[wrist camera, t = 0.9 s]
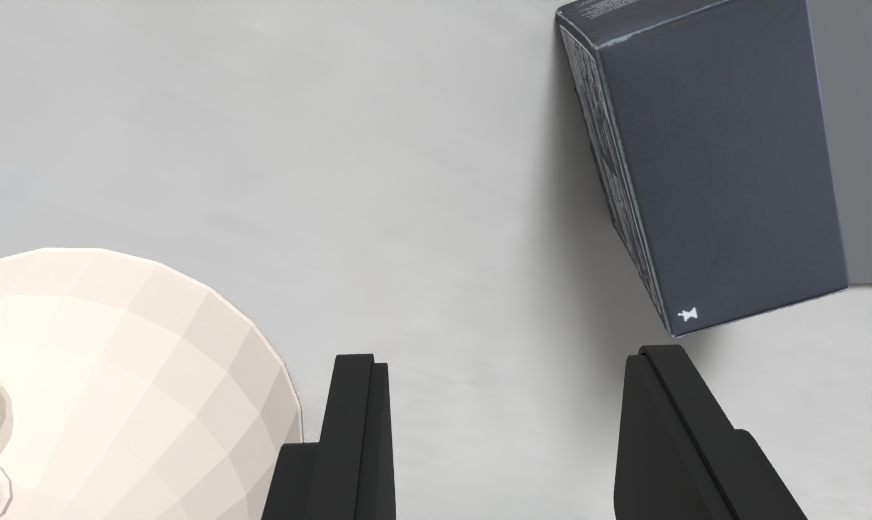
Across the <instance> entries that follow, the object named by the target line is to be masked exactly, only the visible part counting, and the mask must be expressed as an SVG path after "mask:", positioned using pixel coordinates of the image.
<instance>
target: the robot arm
mask: <svg viewBox="0 0 872 520" xmlns="http://www.w3.org/2000/svg"><path fill="white" fill-rule="evenodd" d="M614 510H615V516H616V520H808V519H807V518H806V516H805V515H804V513H803V512H802V510H801V508H800V507H799V505H798V504H797V502H796V501H795V499H794V498H793V496H792V495H791V493H790V492H789V490H788V489H787V487H786V486H785V484H784V483H783V481H782V480H781V478H780V477H779V475H778V474H777V472H776V471H775V469H774V468H773V466H772V465H771V463H770V462H769V460H768V459H767V457H766V456H765V454H764V452H763V451H762V449H761V448H760V446H759V445H758V443H757V442H756V440H755V439H754V438H753V436H752V435H751V434H750V433H749V432H748V431H746V430H743V429H734V428H733V426H732V424H731V423H730V421H729V420H728V418H727V417H726V415H725V413H724V412H723V410H722V409H721V407H720V406H719V404H718V402H717V401H716V399H715V398H714V396H713V394H712V393H711V391H710V390H709V388H708V387H707V385H706V383H705V382H704V380H703V379H702V377H701V376H700V374H699V372H698V371H697V369H696V368H695V366H694V364H693V363H692V361H691V360H690V358H689V357H688V355H687V353H686V352H685V350H684V349H683V347H682V346H681V345H646V346H642V347H641V348H640V350H639V352H638V355H629V356H628V358H627V361H626V368H625V379H624V390H623V401H622V411H621V422H620V433H619V443H618V454H617V465H616V475H615V486H614ZM261 520H396V502H395V484H394V467H393V449H392V431H391V414H390V396H389V378H388V365H387V363H374V356H373V354H348V355H336V359H335V364H334V369H333V374H332V379H331V384H330V389H329V395H328V400H327V405H326V410H325V415H324V420H323V425H322V430H321V435H320V441H319V442H315V443H284V444H283V445H282V446H281V449H280V451H279V454H278V458H277V462H276V465H275V469H274V473H273V477H272V480H271V484H270V488H269V491H268V495H267V499H266V503H265V506H264V510H263V514H262V517H261Z"/></svg>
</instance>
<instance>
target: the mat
mask: <svg viewBox="0 0 872 520" xmlns="http://www.w3.org/2000/svg"><path fill="white" fill-rule="evenodd" d="M808 7H809V14H810V20H811V27H812V34H813V42H814V49H815V56H816V63H817V70H818V77H819V84H820V91H821V97H822V104H823V111H824V118H825V125H826V132H827V139H828V145H829V152H830V158H831V165H832V171H833V178H834V184H835V191H836V197H837V204H838V210H839V217H840V223H841V230H842V236H843V242H844V248H845V254H846V261H847V268H848V275H849V280H850V284H857V283H872V0H808Z"/></svg>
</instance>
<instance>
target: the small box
mask: <svg viewBox="0 0 872 520" xmlns="http://www.w3.org/2000/svg"><path fill="white" fill-rule="evenodd" d="M555 15H556V19H557V22H558V25H559V30H560V33H561V38H562V42H563V46H564V49H565V52H566V56H567V60H568V63H569V67H570V70H571V74H572V78H573V82H574V85H575V91H576V94H577V96H578V100H579V103H580V107H581V111H582V114H583V118H584V121H585V125H586V129H587V133H588V136H589V140H590V145H591V150H592V153H593V156H594V161H595V163H596V166H597V169H598V173H599V178H600V182H601V184H602V187H603V191H604V194H605V197H606V201H607V204H608V207H609V210H610V214H611V217H612V222H613V226H614V227H615V229H616V231H617V232H618V235H619V236H620V238H621V240H622V241H623V243H624V245H625V247H626V248H627V250H628V252H629V255H630V256H631V258H632V260H633V262H634V264H635V266H636V268H637V269H638V272H639V275H640V277H641V279H642V281H643V283H644V285H645V287H646V289H647V291H648V293H649V295H650V298H651V299H652V302H653V303H654V306H655V307H656V310H657V312H658V314H659V316H660V318H661V320H662V322H663V324H664V327H665V328H666V330H667V331H668V334H669V335H670V336H671V337H673V338H680V337H683V336H687V335H690V334H693V333H697V332H700V331H703V330H707V329H711V328H714V327H718V326H721V325H725V324H729V323H732V322H736V321H739V320H742V319H746V318H750V317H753V316H757V315H760V314H764V313H768V312H772V311H775V310H778V309H782V308H785V307H790V306H793V305H796V304H800V303H804V302H807V301H810V300H814V299H818V298H821V297H824V296H828V295H831V294H835V293H838V292H842V291H845V290H847V289H848V288H849V286H850V280H849V275H848V268H847V261H846V254H845V248H844V242H843V236H842V230H841V223H840V217H839V210H838V204H837V197H836V191H835V184H834V178H833V171H832V165H831V158H830V152H829V145H828V139H827V132H826V125H825V118H824V111H823V104H822V97H821V91H820V84H819V77H818V70H817V63H816V56H815V49H814V42H813V34H812V27H811V20H810V14H809V7H808V0H578V1H575V2H572V3H569V4H566V5H563V6H561V7H559V8H558V9H557V11H556V13H555Z"/></svg>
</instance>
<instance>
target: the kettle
mask: <svg viewBox="0 0 872 520" xmlns="http://www.w3.org/2000/svg"><path fill="white" fill-rule="evenodd" d="M284 443H303V438H302V422H301V407H300V404H299V401H298V399H297V396H296V393H295V391H294V388H293V386H292V383H291V380H290V378H289V375H288V373H287V370H286V368H285V365H284V363H283V362H282V360H281V359H280V358H279V356H278V355H277V354H276V352H275V351H274V350H273V348H272V347H271V346H270V344H269V343H268V341H267V340H266V339H265V337H264V336H263V335H262V333H261V332H260V331H259V329H258V328H257V327H256V325H255V324H254V323H253V322H252V321H251V320H249V319H248V318H247V317H246V316H245V315H243V314H242V313H241V312H240V311H238V310H237V309H236V308H235V307H234V306H232V305H231V304H230V303H229V302H227V301H226V300H225V299H224V298H223V297H221V296H220V295H219V294H218V293H216V292H215V291H214V290H213V289H212V288H210V287H208V286H206V285H204V284H202V283H200V282H198V281H196V280H194V279H192V278H190V277H188V276H186V275H184V274H181V273H179V272H177V271H175V270H173V269H171V268H169V267H167V266H165V265H163V264H161V263H159V262H155V261H151V260H147V259H143V258H139V257H135V256H131V255H127V254H123V253H118V252H114V251H110V250H106V249H102V248H41V249H37V250H33V251H29V252H25V253H21V254H17V255H13V256H9V257H5V258H1V259H0V520H261V517H262V514H263V510H264V506H265V503H266V499H267V495H268V491H269V488H270V484H271V480H272V477H273V473H274V469H275V465H276V462H277V458H278V454H279V451H280V449H281V446H282V445H283V444H284Z"/></svg>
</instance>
